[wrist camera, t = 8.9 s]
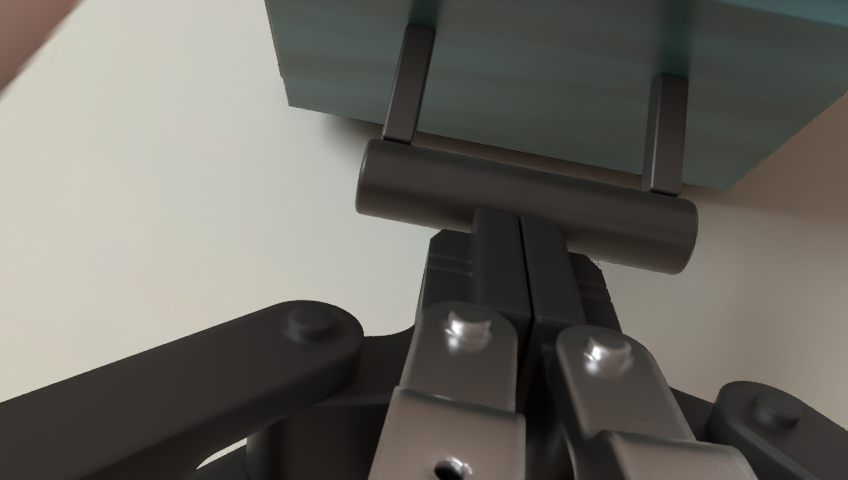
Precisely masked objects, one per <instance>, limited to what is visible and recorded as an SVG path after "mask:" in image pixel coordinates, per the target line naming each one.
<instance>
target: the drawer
mask: <svg viewBox="0 0 848 480" xmlns="http://www.w3.org/2000/svg"><path fill="white" fill-rule="evenodd" d="M266 1H267V6H268V11H269V15H270V20H271V25H272V29H273V34H274V39H275V43H276V48H277V53H278V57H279V62H280V67H281V71H282V76H283V80H284V85H285V90H286V94H287V99H288V104H289V106H292V107H297V108H302V109H307V110H312V111H318V112H323V113H328V114H333V115H338V116H343V117H348V118H353V119H358V120H363V121H369V122H374V123H379V124H384V126H383V130H382V138H381V140H380V139H375V138H373V139H370V140H369V141H368V143H367V145H366V148H365V151H364V155H363V159H362V163H361V168H360V173H359V179H358V184H357V191H356V201H355V207H356V212H358V213H359V214H363V215H369V216H374V217H379V218H384V219H389V220H394V221H399V222H404V223H410V224H415V225H420V226H425V227H430V228H435V229H440V230H443V229H449V230H454V231H460V232H465V233H470V231H471V227H472V222H473V218H474V214H475V211H476V209H477V208H481V209H486V210H492V211H497V212H503V213H508V214H513V215H517V216H518V217H519V216H525V217H530V218H536V219H541V220H546V221H552V222H557V223H560V224H561V227H562V230H563V234H564V238H565V242H566V246H567V249H568V251H569V252H574V253H580V254H585V255H586V256H587V257H588V258H589V259H594V260H599V261H604V262H610V263H615V264H620V265H625V266H630V267H635V268H640V269H646V270H651V271H656V272H661V273H666V274H671V275H674V274H678V273H680V272H681V271H682V270H683V269H684V268H685V267H686V265H687V263H688V262H689V260H690V257H691V255H692V252H693V250H694V246H695V243H696V238H697V232H698V212H697V208H696V206H695V204H694V203H693V202H691V201H690V200H687V199H682V198H677V197H678V196H679V195H680V194H681V185H682V183H685V184H690V185H695V186H700V187H705V188H710V189H715V190H720V191H727V190H728V189H729V188H730V187H732V186H733V185H734V184H735V183H736V182H738V181H739V180H740V179H741V178H742V177H744V176H745V175H746V174H747V173H749V172H750V171H751V170H752V169H753V168H755V167H756V166H757V165H758V164H760V163H761V162H762V161H763V160H764V159H766V158H767V157H768V156H769V155H770V154H772V153H773V152H774V151H775V150H777V149H778V148H779V147H780V146H781V145H783V144H784V143H785V142H786V141H788V140H789V139H790V138H791V137H792V136H794V135H795V134H796V133H797V132H798V131H800V130H801V129H802V128H803V127H805V126H806V125H807V124H808V123H809V122H811V121H812V120H813V119H814V118H816V117H817V116H818V115H819V114H820V113H822V112H823V111H824V110H825V109H826V108H828V107H829V106H830V105H831V104H833V103H834V102H835V101H836V100H837V99H839V98H840V97H841V96H842V95H844V94H845V93H846V92H847V91H848V0H266ZM416 131H420V132H425V133H430V134H435V135H440V136H445V137H450V138H455V139H460V140H465V141H471V142H476V143H481V144H486V145H491V146H496V147H501V148H506V149H511V150H516V151H522V152H527V153H532V154H537V155H542V156H547V157H552V158H557V159H562V160H567V161H573V162H578V163H583V164H588V165H593V166H598V167H603V168H608V169H613V170H618V171H624V172H629V173H634V174H639V175H642V184H641V190H636V189H631V188H625V187H620V186H615V185H610V184H605V183H600V182H595V181H590V180H585V179H579V178H574V177H569V176H564V175H559V174H554V173H549V172H544V171H539V170H534V169H528V168H523V167H518V166H513V165H508V164H503V163H498V162H493V161H488V160H483V159H477V158H472V157H467V156H462V155H457V154H452V153H447V152H442V151H437V150H431V149H426V148H421V147H416V146H414V141H415V136H416Z"/></svg>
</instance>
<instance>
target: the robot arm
mask: <svg viewBox="0 0 848 480" xmlns="http://www.w3.org/2000/svg"><path fill="white" fill-rule="evenodd" d="M610 301H611V298H610V295H609V292H608V289H606V283H605V280H604V277H603V274H602V271H601V270H600V269H599V268H598V267H597V266H596V265H595V264H594V263H593V262H592V261H591V260H590V259H589V258H588V257H587V256H586V255H585V254H580V253H574V252H569V251H568V249H567V246H566V242H565V238H564V234H563V230H562V227H561V224H560V223H557V222H552V221H546V220H541V219H536V218H530V217H525V216H519V217H518V216H517V215H513V214H508V213H503V212H497V211H492V210H486V209H481V208H477V209H476V211H475V214H474V218H473V222H472V227H471V231H470V233H465V232H460V231H454V230H449V229H443V230H441V231H440V232H439V233H437V234H436V235H435V236H434V237H432V238H431V239H430V244H429V249H428V254H427V259H426V264H425V269H424V274H423V279H422V285H421V290H420V295H419V300H418V305H417V310H416V316H415V323H414V325H413V326H412V327H410V328H409V329H407V330H405V331H402V332H399V333H396V334H392V335H386V336H364V332H363V328H362V326H361V324H360V322H359V321H358V320H357V319H356V318H355V317H354V316H353V315H351V314H350V313H349V312H347V311H345V310H343V309H341V308H339V307H337V306H334V305H331V304H328V303H323V302H319V301H310V300H296V301H287V302H282V303H279V304H275V305H273V306H270V307H267V308H264V309H261V310H259V311H256V312H253V313H250V314H247V315H245V316H242V317H239V318H236V319H233V320H231V321H228V322H225V323H222V324H219V325H217V326H214V327H211V328H208V329H205V330H203V331H200V332H197V333H194V334H191V335H189V336H186V337H183V338H180V339H177V340H175V341H172V342H169V343H166V344H163V345H161V346H158V347H155V348H152V349H149V350H147V351H144V352H141V353H138V354H135V355H133V356H130V357H127V358H124V359H121V360H119V361H116V362H113V363H110V364H107V365H105V366H102V367H99V368H96V369H93V370H91V371H88V372H85V373H82V374H79V375H77V376H74V377H71V378H68V379H65V380H63V381H60V382H57V383H54V384H51V385H49V386H46V387H43V388H40V389H37V390H35V391H32V392H29V393H26V394H23V395H21V396H18V397H15V398H12V399H9V400H7V401H4V402H1V403H0V480H848V431H847V430H845V429H844V428H842V427H840V426H839V425H837V424H836V423H834V422H833V421H831V420H830V419H828V418H827V417H825V416H824V415H822V414H821V413H819V412H817V411H816V410H814V409H813V408H811V407H810V406H808V405H807V404H805V403H804V402H802V401H801V400H799V399H797V398H796V397H794V396H792V395H790V394H788V393H786V392H784V391H782V390H779V389H777V388H774V387H771V386H768V385H765V384H761V383H757V382H750V381H734V382H730V383H727V384H726V385H724V386H723V387H722V388H721V389H720V392H719V394H718V396H717V398H716V401H715V403H714V404H713V403H710V402H708V401H705V400H702V399H700V398H697V397H694V396H692V395H689V394H686V393H684V392H681V391H679V390H676V389H674V388H671V387H669V386H668V384H667V382H666V380H665V378H664V376H663V374H662V372H661V370H660V368H659V366H658V364H657V362H656V360H655V358H654V357H653V355H652V354H651V353H650V352H649V351H648V350H647V349H646V348H645V347H644V346H643V345H642V344H640V343H639V342H637V341H636V340H634V339H633V338H631V337H629V336H627V335H625V334H623V333H622V330H621V327H620V324H619V321H618V318H617V315H616V313H615V310H614V307H613V304H612V302H610ZM246 437H247V444H246V445H244V446H242V447H240V448H238V449H236V450H234V451H232V452H230V453H228V454H226V455H224V456H222V457H220V458H218V459H216V460H214V461H212V462H210V463H208V464H206V465H204V466H202V467H201V468H199V469H197V468H198V466H199V465H200V464H201V463H202V462H204V461H205V460H206V459H207V458H208V457H210V456H211V455H213V454H215V453H217V452H219V451H221V450H223V449H225V448H226V447H228V446H230V445H232V444H234V443H236V442H238V441H240V440H242V439H244V438H246ZM196 469H197V470H196Z"/></svg>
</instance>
